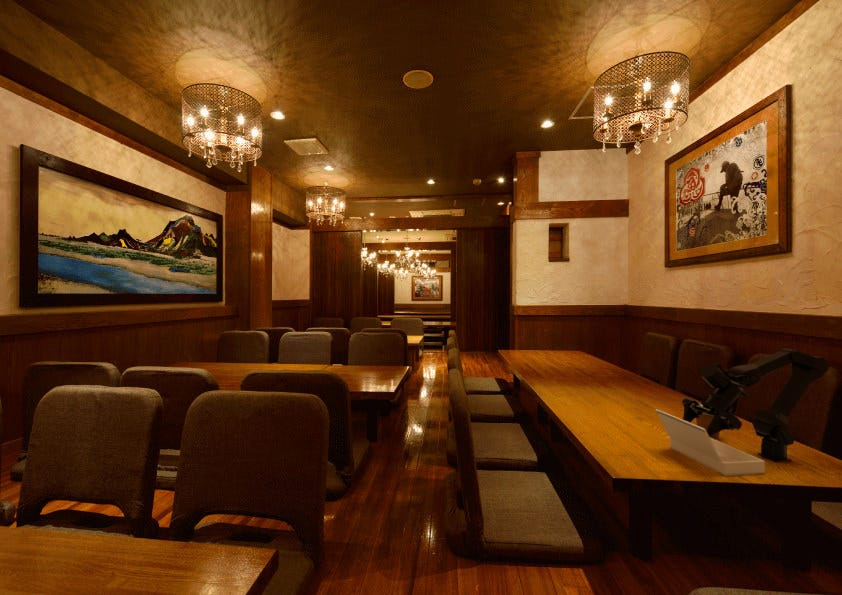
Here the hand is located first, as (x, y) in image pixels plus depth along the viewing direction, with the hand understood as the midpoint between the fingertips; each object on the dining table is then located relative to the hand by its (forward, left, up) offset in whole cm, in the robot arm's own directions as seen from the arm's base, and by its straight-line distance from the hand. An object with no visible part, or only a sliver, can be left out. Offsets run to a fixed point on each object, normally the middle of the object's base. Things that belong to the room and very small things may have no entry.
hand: (694, 431), depth 129 cm
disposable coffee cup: (-23, -19, -10) cm, 32 cm away
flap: (+3, 0, 0) cm, 3 cm away
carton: (-7, 0, -10) cm, 12 cm away
